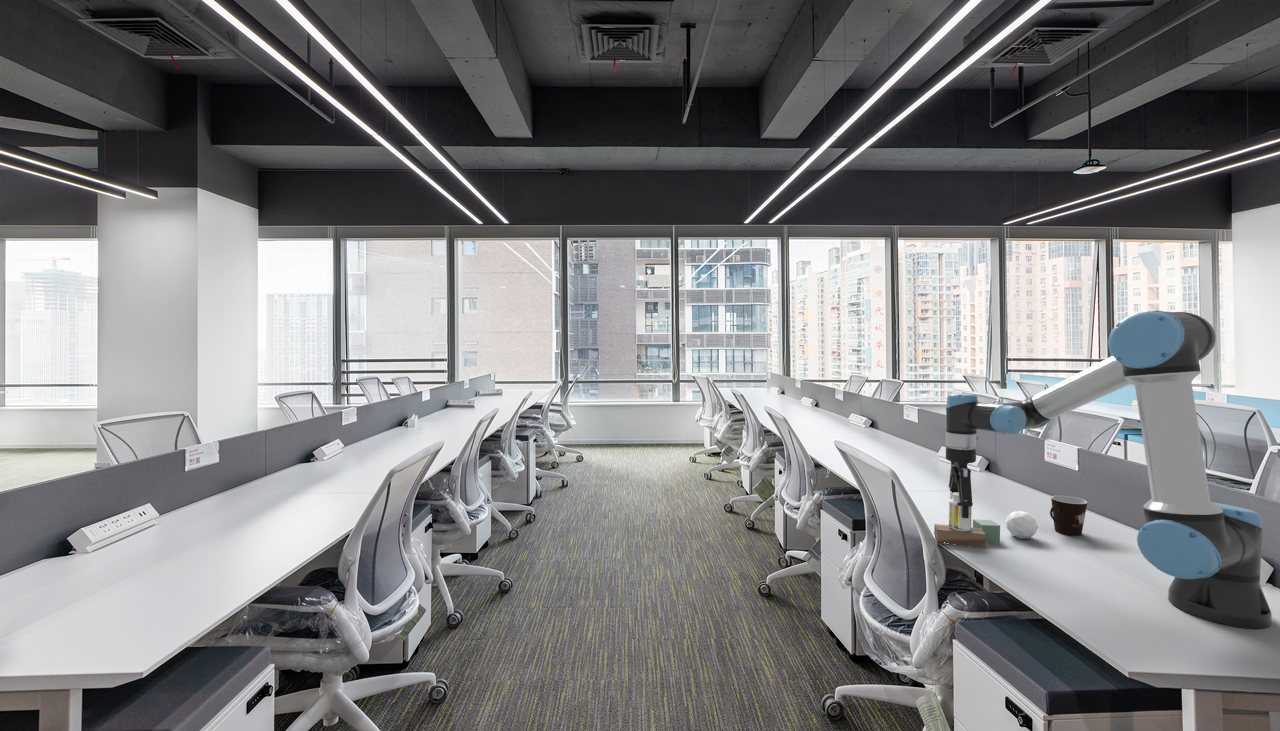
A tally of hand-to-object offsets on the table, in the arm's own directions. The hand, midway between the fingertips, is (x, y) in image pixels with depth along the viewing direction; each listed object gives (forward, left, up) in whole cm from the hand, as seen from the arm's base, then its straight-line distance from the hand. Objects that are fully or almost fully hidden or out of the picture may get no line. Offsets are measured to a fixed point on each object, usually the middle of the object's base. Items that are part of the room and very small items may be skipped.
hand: (959, 521), depth 156 cm
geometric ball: (+11, -18, -6) cm, 22 cm away
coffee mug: (+20, -31, -6) cm, 37 cm away
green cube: (+6, -8, -6) cm, 12 cm away
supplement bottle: (0, 0, -2) cm, 2 cm away
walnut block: (0, 0, -6) cm, 6 cm away
